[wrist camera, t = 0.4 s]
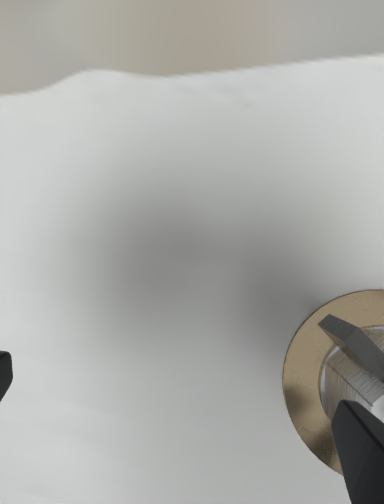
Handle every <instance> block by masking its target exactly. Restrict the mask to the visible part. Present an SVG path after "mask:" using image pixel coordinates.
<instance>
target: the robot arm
mask: <svg viewBox="0 0 384 504" xmlns="http://www.w3.org/2000/svg"><path fill="white" fill-rule="evenodd" d="M12 379H13V371H12V359H11V354H10V353H9V352H7V351H0V402H1V400H2V398H3V397H4V395H5V393H6V392H7V390H8V388H9V387H10V385H11V382H12ZM331 431H332V435H333V439H334V442H335V446H336V450H337V454H338V457H339V461H340V465H341V468H342V472H343V476H344V480H345V483H346V487H347V490H348V494H349V497H350V500H351V503H352V504H384V423H383V422H382V421H381V420H379V419H378V418H377V417H376V416H375V415H373V414H372V413H371V412H370V411H368V410H367V409H366V408H365V407H364V406H362V405H361V404H360V403H359V402H357V401H352V400H345V399H342V400H340V401H339V403H338V405H337V408H336V411H335V413H334V416H333V419H332V422H331Z"/></svg>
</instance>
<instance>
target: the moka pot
mask: <svg viewBox="0 0 384 504" xmlns="http://www.w3.org/2000/svg"><path fill="white" fill-rule="evenodd" d="M283 391H284V397H285V403H286V406H287V409H288V413H289V415H290V418H291V420H292V422H293V424H294V427H295V429H296V430H297V432H298V434H299V435H300V437H301V439H302V440H303V441H304V443H305V444H306V445H307V447H308V448H309V449H310V450H311V451H312V452H313V453H314V454H315V455H316V456H317V457H318V458H319V459H320V460H321V461H322V462H323V463H325V464H326V465H327V466H328V467H330V468H331V469H333V470H334V471H336V472H338V473H339V474H341V475H343V472H342V468H341V465H340V461H339V457H338V454H337V450H336V446H335V442H334V439H333V435H332V431H331V422H332V419H333V416H334V413H335V411H336V408H337V405H338V403H339V401H340V400H342V399H345V400H352V401H357V402H359V403H360V404H361V405H362V406H364V407H365V408H366V409H367V410H368V411H370V412H371V413H372V414H373V415H375V416H376V417H377V418H378V419H379V420H381V421H382V422H383V423H384V290H369V291H361V292H355V293H352V294H348V295H344V296H342V297H339V298H337V299H334V300H332V301H331V302H329V303H327V304H325V305H324V306H322V307H321V308H319V309H318V310H317V311H315V312H314V313H313V314H312V315H311V316H310V317H309V318H308V319H307V320H306V321H305V322H304V323H303V324H302V326H301V327H300V328H299V330H298V331H297V333H296V334H295V336H294V338H293V340H292V342H291V344H290V346H289V349H288V352H287V355H286V359H285V363H284V370H283Z"/></svg>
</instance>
